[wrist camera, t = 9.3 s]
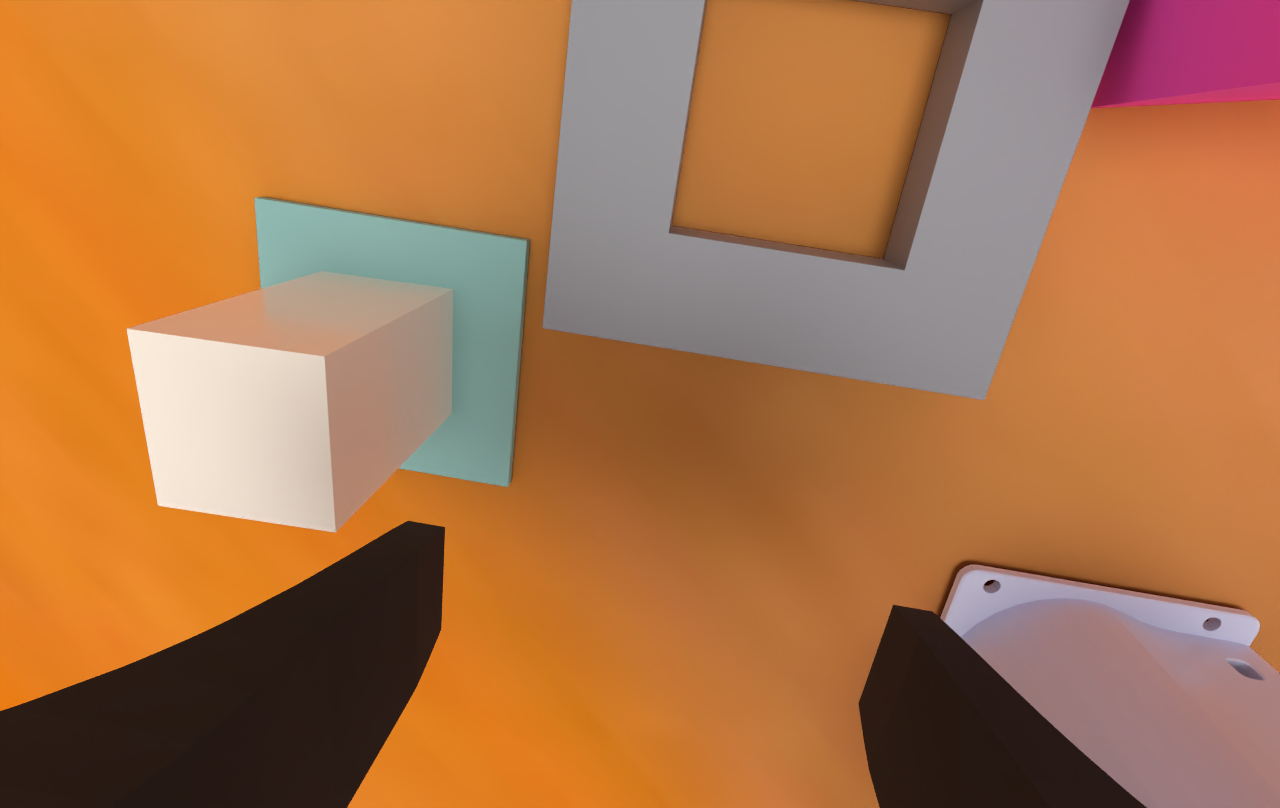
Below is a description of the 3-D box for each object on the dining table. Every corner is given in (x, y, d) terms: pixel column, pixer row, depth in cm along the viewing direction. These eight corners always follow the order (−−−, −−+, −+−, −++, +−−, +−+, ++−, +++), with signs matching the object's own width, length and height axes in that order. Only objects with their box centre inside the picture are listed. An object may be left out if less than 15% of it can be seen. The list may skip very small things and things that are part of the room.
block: (453, 288, 19) (324, 357, 12) (451, 413, 20) (335, 532, 14) (321, 270, 19) (126, 328, 13) (329, 396, 21) (157, 505, 14)
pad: (530, 239, 19) (526, 241, 18) (511, 481, 22) (507, 487, 21) (263, 197, 19) (254, 197, 19) (279, 441, 22) (272, 446, 21)
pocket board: (1125, -117, 15) (1187, -157, 13) (956, 376, 19) (983, 400, 17) (606, -189, 15) (593, -238, 13) (557, 311, 19) (542, 327, 18)
